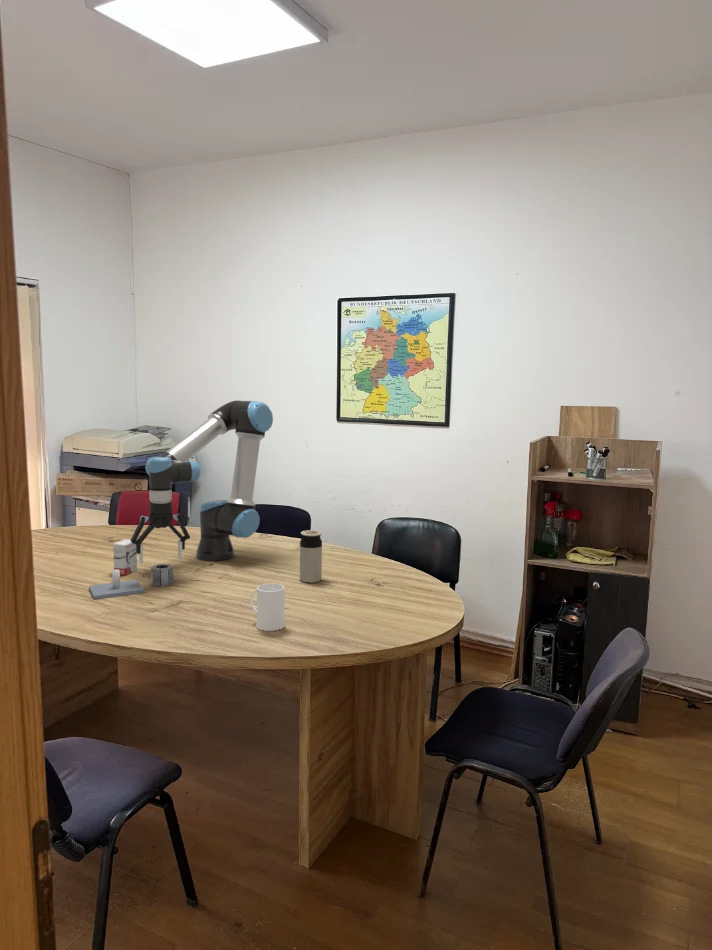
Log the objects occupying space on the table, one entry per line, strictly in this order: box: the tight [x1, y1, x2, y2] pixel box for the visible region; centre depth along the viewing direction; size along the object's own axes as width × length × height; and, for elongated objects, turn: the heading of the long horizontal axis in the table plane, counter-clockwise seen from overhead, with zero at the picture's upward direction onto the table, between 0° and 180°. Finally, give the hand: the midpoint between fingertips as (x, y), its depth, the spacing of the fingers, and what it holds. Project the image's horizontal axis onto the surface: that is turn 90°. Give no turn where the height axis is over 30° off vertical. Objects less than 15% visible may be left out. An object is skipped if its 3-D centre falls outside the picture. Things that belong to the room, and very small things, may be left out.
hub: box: [150, 563, 175, 587], centre depth 235 cm, size 7×7×6 cm
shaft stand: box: [88, 569, 145, 600], centre depth 225 cm, size 16×12×7 cm
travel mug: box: [299, 529, 323, 583], centre depth 241 cm, size 8×8×18 cm
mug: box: [249, 582, 286, 632], centre depth 197 cm, size 12×8×12 cm
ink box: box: [113, 538, 138, 577], centre depth 246 cm, size 9×5×12 cm, turn 168°
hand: (160, 560), depth 233 cm, fingers open, 13 cm apart
